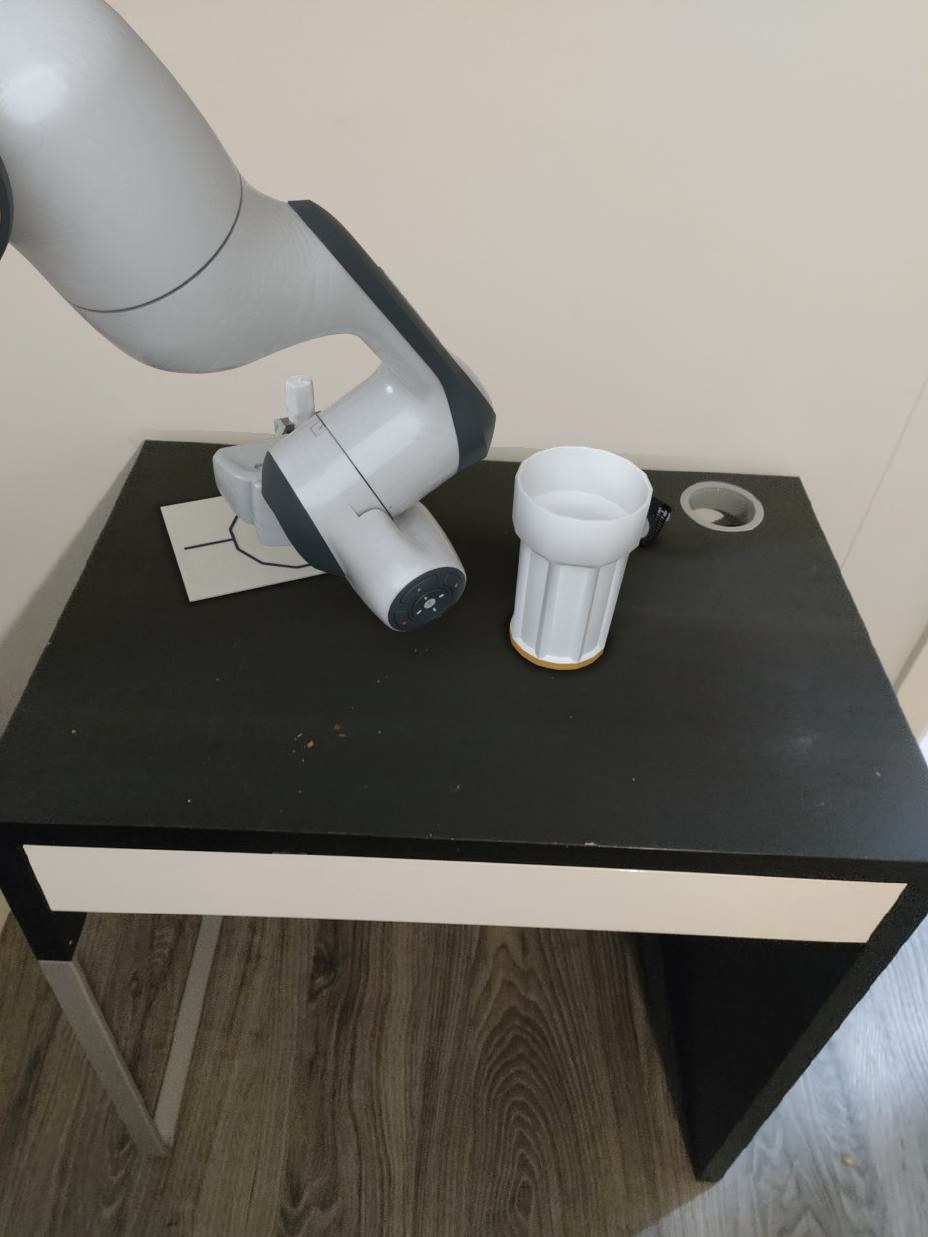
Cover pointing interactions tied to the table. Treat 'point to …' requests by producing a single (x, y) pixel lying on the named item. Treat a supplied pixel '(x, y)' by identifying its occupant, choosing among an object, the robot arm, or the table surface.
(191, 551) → the sketch sheet
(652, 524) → the smartwatch
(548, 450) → the cup
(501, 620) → the table surface
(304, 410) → the candle
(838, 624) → the table surface
